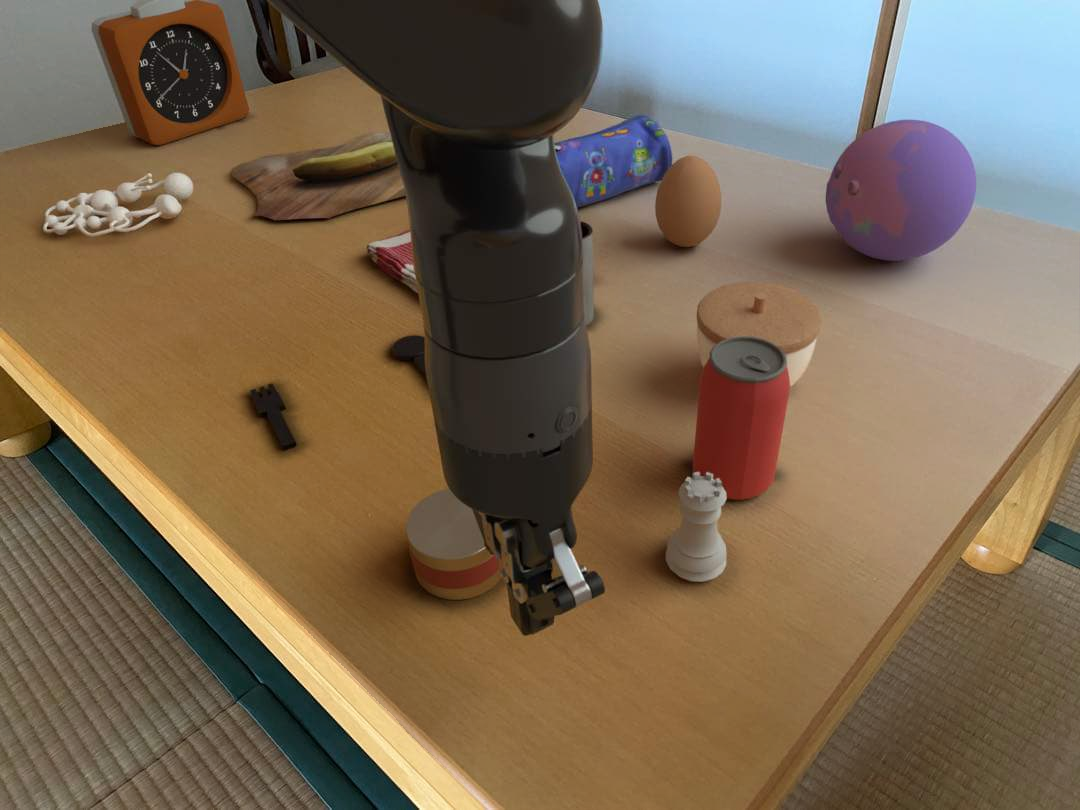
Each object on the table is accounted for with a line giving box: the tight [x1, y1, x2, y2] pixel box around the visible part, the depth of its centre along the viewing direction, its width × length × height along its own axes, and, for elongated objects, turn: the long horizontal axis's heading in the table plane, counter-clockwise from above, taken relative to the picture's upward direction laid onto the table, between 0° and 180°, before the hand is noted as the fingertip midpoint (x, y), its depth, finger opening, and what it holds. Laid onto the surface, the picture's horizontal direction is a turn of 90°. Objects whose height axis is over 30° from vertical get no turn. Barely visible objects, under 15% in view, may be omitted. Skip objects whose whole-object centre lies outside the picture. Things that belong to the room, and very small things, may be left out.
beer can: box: [692, 336, 791, 501], centre depth 64 cm, size 7×7×12 cm
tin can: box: [405, 488, 502, 601], centre depth 60 cm, size 7×7×4 cm
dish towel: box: [365, 229, 419, 295], centre depth 96 cm, size 17×23×3 cm
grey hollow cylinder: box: [580, 220, 595, 327], centre depth 84 cm, size 4×4×10 cm
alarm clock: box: [91, 0, 250, 147], centre depth 134 cm, size 18×9×21 cm, turn 136°
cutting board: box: [231, 132, 406, 221], centre depth 120 cm, size 35×27×4 cm
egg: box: [654, 155, 722, 248], centre depth 95 cm, size 8×8×11 cm
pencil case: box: [554, 114, 673, 209], centre depth 107 cm, size 22×9×10 cm, turn 119°
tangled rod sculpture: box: [42, 172, 194, 238], centre depth 111 cm, size 19×14×4 cm
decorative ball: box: [825, 119, 977, 262], centre depth 90 cm, size 15×15×15 cm
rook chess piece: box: [665, 472, 728, 583], centre depth 58 cm, size 4×4×8 cm
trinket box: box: [696, 281, 822, 388], centre depth 74 cm, size 11×11×9 cm
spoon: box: [392, 334, 427, 379], centre depth 82 cm, size 10×4×1 cm, turn 29°
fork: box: [249, 382, 298, 451], centre depth 76 cm, size 10×2×1 cm, turn 29°
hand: (533, 621), depth 49 cm, fingers closed
